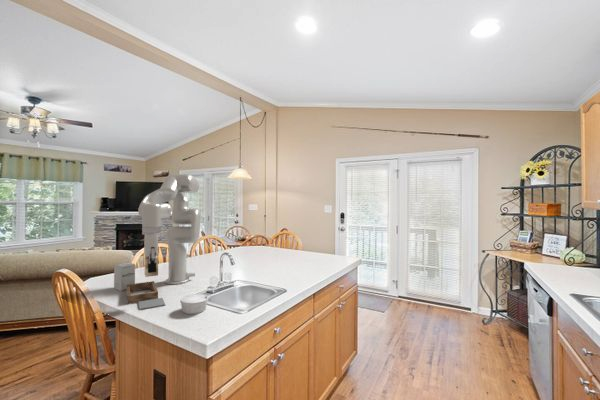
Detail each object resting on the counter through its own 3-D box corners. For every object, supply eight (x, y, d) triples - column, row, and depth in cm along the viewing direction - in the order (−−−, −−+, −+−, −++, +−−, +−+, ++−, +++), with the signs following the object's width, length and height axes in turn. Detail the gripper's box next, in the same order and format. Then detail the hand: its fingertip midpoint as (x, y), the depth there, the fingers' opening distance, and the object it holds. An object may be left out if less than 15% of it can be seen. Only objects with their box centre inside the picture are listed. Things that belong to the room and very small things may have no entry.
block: (156, 272, 134) (156, 255, 134) (158, 275, 130) (158, 257, 130) (144, 274, 131) (144, 256, 131) (145, 276, 127) (145, 258, 127)
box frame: (153, 287, 155) (153, 281, 155) (158, 299, 137) (158, 291, 137) (126, 291, 148) (126, 284, 148) (127, 304, 131) (127, 296, 131)
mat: (162, 298, 138) (162, 297, 138) (165, 305, 129) (165, 304, 129) (138, 302, 132) (138, 301, 132) (139, 310, 124) (139, 308, 124)
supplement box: (120, 290, 149) (120, 266, 149) (113, 288, 153) (113, 264, 153) (135, 287, 155) (135, 263, 155) (128, 284, 159) (128, 262, 159)
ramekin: (206, 314, 120) (206, 301, 120) (177, 316, 118) (178, 303, 118) (209, 304, 131) (209, 293, 131) (182, 306, 129) (183, 294, 128)
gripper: (141, 229, 136) (140, 268, 136) (143, 233, 121) (143, 276, 121) (158, 228, 140) (158, 266, 140) (163, 232, 125) (163, 274, 125)
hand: (151, 270), depth 130 cm, fingers closed on block, 5 cm apart
